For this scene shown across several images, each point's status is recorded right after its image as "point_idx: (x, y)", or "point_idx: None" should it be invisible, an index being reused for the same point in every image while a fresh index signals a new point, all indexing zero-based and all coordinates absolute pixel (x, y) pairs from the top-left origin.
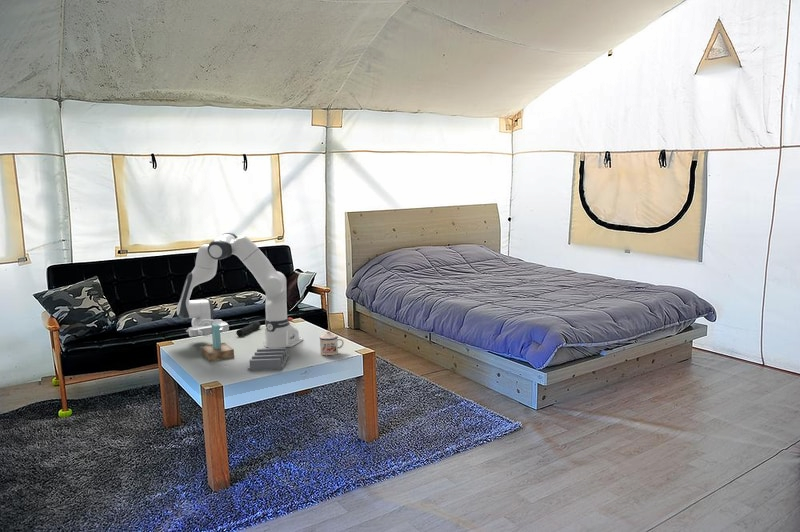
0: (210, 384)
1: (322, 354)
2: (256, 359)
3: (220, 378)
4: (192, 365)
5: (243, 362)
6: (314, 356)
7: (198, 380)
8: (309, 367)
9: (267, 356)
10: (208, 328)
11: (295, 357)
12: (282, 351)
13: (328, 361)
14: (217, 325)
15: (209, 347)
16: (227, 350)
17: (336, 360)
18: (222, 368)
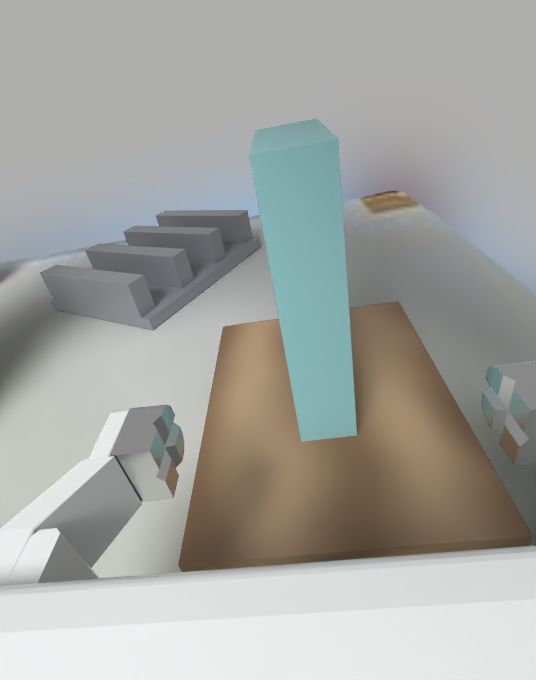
0: (395, 202)
1: None
2: (221, 213)
3: (361, 220)
4: (511, 323)
5: (234, 300)
6: (6, 294)
7: (437, 216)
8: (110, 243)
9: (172, 227)
10: (403, 565)
11: (49, 299)
12: (94, 248)
13: (36, 261)
14: (277, 128)
15: (396, 432)
16: (266, 320)
17: (16, 263)
18: None
